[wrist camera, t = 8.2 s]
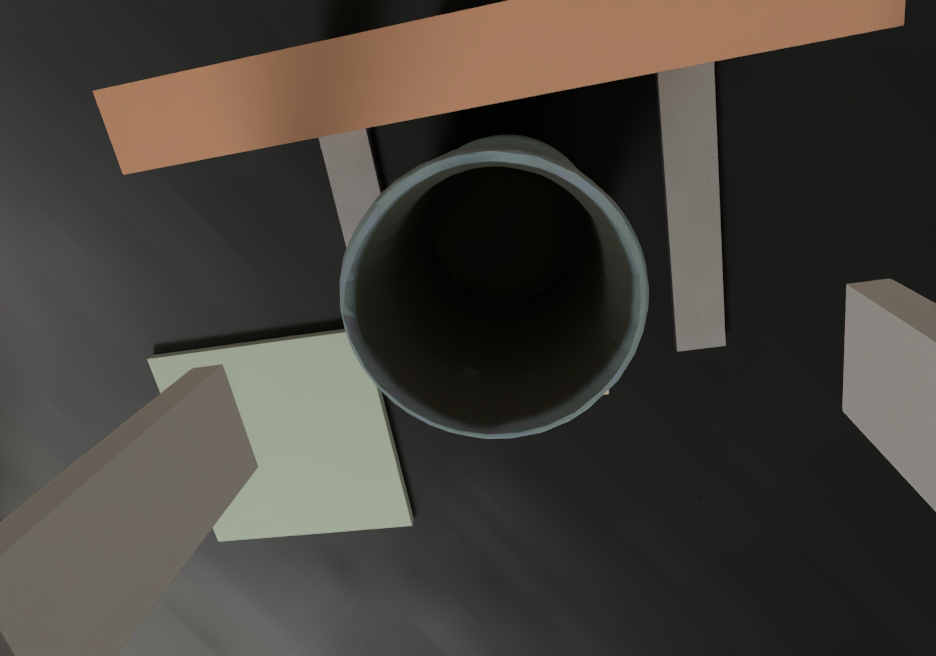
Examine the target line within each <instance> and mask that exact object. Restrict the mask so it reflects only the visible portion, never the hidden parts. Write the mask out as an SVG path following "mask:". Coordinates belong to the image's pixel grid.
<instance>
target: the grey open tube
mask: <svg viewBox="0 0 936 656" xmlns="http://www.w3.org/2000/svg"><path fill="white" fill-rule="evenodd" d="M648 299H649V285H648V278H647V270H646V263H645V260H644V256H643V253H642V249H641V246H640V244H639V241H638V239H637V237H636V235H635V233H634V231H633V229H632V227H631V225H630V223H629V221H628V220H627V218H626V217H625V215H624V214H623V212H622V211H621V209H620V208H619V207H618V206H617V204H616V203H615V202H614V201H613V199H612V198H611V197H610V196H609V195H607V194H606V193H605V192H604V191H603V190H602V189H601V188H600V187H599V186H597V185H596V184H595V183H594V182H593V181H592V180H591V179H590V178H588V177H587V176H585V175H584V174H583V173H582V172H580V171H579V170H578V169H577V168H576V167H575V166H574V165H573V164H572V163H571V162H570V161H569V160H568V159H567V158H566V157H565V156H564V155H563V154H561V153H560V152H559V151H558V150H556V149H555V148H553V147H551V146H549V145H548V144H546V143H543V142H541V141H539V140H536V139H533V138H530V137H526V136H520V135H495V136H490V137H485V138H482V139H478V140H475V141H473V142H470V143H468V144H466V145H463V146H462V147H460V148H459V149H456V150H452V151H450V152H448V153H446V154H444V155H442V156H439V157H437V158H435V159H432V160H430V161H427V162H425V163H422V164H420V165H418V166H417V167H415V168H414V169H412V170H411V171H409V172H407V173H406V174H404V175H403V176H401V177H400V178H398V179H396V180H395V181H394V182H393V183H392V184H391V185H389V186H388V187H387V188H386V189H385V190H384V191H383V192H382V193H381V194H380V195H379V196H378V197H377V198H376V200H375V201H374V202H373V203H372V205H371V206H370V208H369V209H368V211H367V212H366V213H365V215H364V216H363V218H362V219H361V220H360V222H359V224H358V225H357V227H356V229H355V231H354V233H353V235H352V237H351V238H350V240H349V243H348V246H347V249H346V252H345V255H344V258H343V263H342V270H341V276H340V309H341V314H342V319H343V323H344V328H345V332H346V335H347V337H348V340H349V343H350V345H351V348H352V350H353V352H354V354H355V355H356V357H357V359H358V361H359V363H360V364H361V366H362V368H363V369H364V370H365V372H366V373H367V374H368V376H369V377H370V378H371V380H372V381H373V382H374V384H375V385H376V386H377V387H378V388H379V389H380V390H381V391H382V392H383V393H384V394H385V395H386V396H387V397H388V398H389V399H390V400H391V401H392V402H394V403H395V404H397V405H398V406H399V407H401V408H402V409H403V410H405V411H406V412H407V413H409V414H411V415H413V416H415V417H416V418H418V419H420V420H422V421H424V422H426V423H427V424H429V425H431V426H434V427H437V428H440V429H443V430H445V431H448V432H452V433H457V434H461V435H466V436H471V437H477V438H484V439H497V438H515V437H520V436H526V435H531V434H536V433H542V432H544V431H546V430H549V429H551V428H554V427H556V426H558V425H561V424H563V423H565V422H568V421H570V420H571V419H573V418H575V417H576V416H578V415H579V414H581V413H582V412H584V411H585V410H587V409H588V408H589V407H591V406H592V405H593V404H594V403H595V402H596V401H597V400H598V399H599V398H600V397H601V396H602V395H603V394H604V393H605V392H606V391H607V390H608V389H609V388H611V387H612V386H613V385H614V384H615V383H616V382H617V381H618V380H619V378H620V377H621V375H622V373H623V372H624V370H625V369H626V367H627V365H628V364H629V362H630V361H631V359H632V357H633V356H634V354H635V352H636V349H637V347H638V344H639V341H640V339H641V336H642V333H643V330H644V325H645V320H646V315H647V310H648Z"/></svg>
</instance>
